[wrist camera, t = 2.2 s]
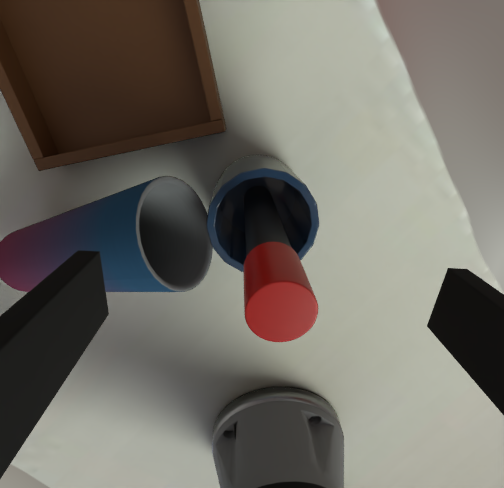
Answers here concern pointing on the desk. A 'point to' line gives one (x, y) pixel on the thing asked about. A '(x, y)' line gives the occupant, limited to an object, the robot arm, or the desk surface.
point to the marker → (273, 275)
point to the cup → (120, 240)
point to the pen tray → (106, 76)
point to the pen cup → (285, 199)
